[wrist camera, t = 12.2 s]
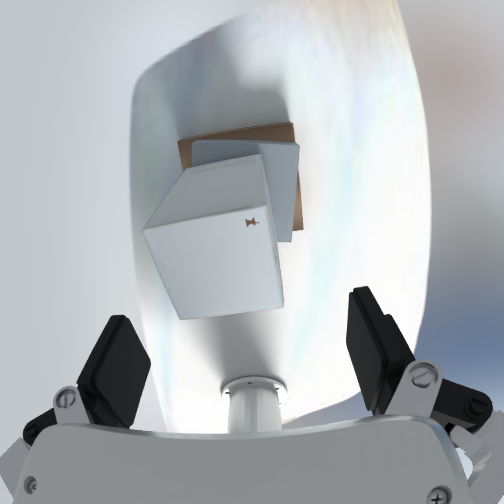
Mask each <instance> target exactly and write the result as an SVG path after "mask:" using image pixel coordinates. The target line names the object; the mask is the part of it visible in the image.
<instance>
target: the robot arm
mask: <svg viewBox="0 0 504 504" xmlns="http://www.w3.org/2000/svg"><path fill="white" fill-rule="evenodd" d="M346 345H347V349H348V352H349V355H350V358H351V361H352V364H353V367H354V370H355V373H356V376H357V379H358V382H359V386H360V389H361V392H362V395H363V398H364V402H365V405H366V408H367V410H368V411H370V410H372V413H373V416H370V417H365V418H359V419H353V420H348V421H343V422H338V423H331V424H325V425H318V426H311V427H305V428H297V429H289V430H282V424H281V411H280V407H281V406H282V405H283V404H284V403H285V402H286V400H287V390H286V388H285V386H284V385H283V384H282V383H280V382H278V381H276V380H274V379H271V378H267V377H258V376H252V377H243V378H239V379H236V380H234V381H231V382H230V383H228V384H227V385H226V386H225V387H224V388H223V390H222V400H223V402H224V403H225V405H226V406H228V407H229V417H228V434H187V433H166V432H152V431H142V430H132V429H129V428H130V426H131V425H132V424H133V423H134V419H135V416H136V412H137V409H138V405H139V402H140V398H141V395H142V392H143V389H144V386H145V382H146V379H147V376H148V373H149V370H150V366H151V361H150V358H149V356H148V355H147V353H146V351H145V349H144V347H143V345H142V343H141V342H140V340H139V337H138V335H137V334H136V332H135V330H134V327H133V325H132V324H131V321H130V320H129V318H126V316H125V315H113V316H111V317H110V319H109V321H108V323H107V324H106V326H105V328H104V330H103V332H102V334H101V335H100V337H99V339H98V341H97V343H96V345H95V346H94V348H93V350H92V352H91V354H90V356H89V358H88V360H87V362H86V364H85V366H84V368H83V370H82V372H81V374H80V376H79V378H78V380H77V382H76V383H77V384H78V387H77V388H76V387H73V386H66V387H64V388H62V389H60V390H59V391H58V392H57V393H56V395H55V397H54V399H53V406H54V407H53V408H52V409H50V410H48V411H47V412H45V413H43V414H42V415H40V416H38V417H36V418H35V419H33V420H32V421H30V422H29V423H27V425H26V426H25V428H24V430H23V439H22V438H21V437H20V438H19V439H18V440H17V441H16V442H15V443H14V444H13V445H12V446H11V447H10V448H9V449H8V450H7V451H6V452H5V453H4V454H3V455H2V456H1V457H0V475H1V477H2V479H3V481H4V482H5V484H6V486H7V488H8V490H9V491H10V493H11V495H12V496H13V498H14V500H13V504H497V503H498V502H499V501H500V499H501V498H502V496H503V495H504V413H503V412H502V411H500V410H498V411H497V412H496V411H495V410H493V405H492V401H491V400H490V398H489V397H488V396H487V395H486V394H484V393H482V392H480V391H477V390H474V389H471V388H468V387H465V386H463V385H460V384H456V383H454V382H451V381H449V380H446V379H443V378H442V371H441V369H440V367H439V366H438V365H437V364H436V363H434V362H432V361H430V360H425V359H421V360H416V359H415V358H414V356H413V354H412V352H411V350H410V348H409V346H408V344H407V342H406V340H405V339H404V337H403V335H402V333H401V331H400V329H399V328H398V326H397V324H396V322H395V321H394V319H393V317H392V316H391V315H390V314H386V315H384V314H383V312H382V310H381V308H380V306H379V305H378V303H377V301H376V299H375V298H374V296H373V294H372V292H371V290H370V289H369V287H368V286H364V287H358V288H354V290H353V292H350V293H349V305H348V322H347V335H346ZM458 447H460V448H461V449H463V450H464V451H465V455H466V456H467V457H469V458H470V459H471V461H472V463H473V472H472V474H471V475H470V477H469V479H468V480H467V479H466V475H465V472H464V469H463V467H462V464H461V461H460V458H459V456H458V453H457V451H456V449H455V448H458ZM430 491H431V492H430Z"/></svg>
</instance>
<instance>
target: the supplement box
mask: <svg viewBox="0 0 504 504" xmlns="http://www.w3.org/2000/svg"><path fill="white" fill-rule="evenodd" d="M142 232H143V235H144V237H145V240H146V242H147V245H148V247H149V250H150V252H151V255H152V257H153V260H154V262H155V265H156V267H157V270H158V272H159V274H160V277H161V279H162V281H163V283H164V286H165V288H166V290H167V292H168V295H169V297H170V299H171V301H172V304H173V306H174V308H175V310H176V312H177V314H178V317H179V319H180V320H187V319H197V318H206V317H214V316H223V315H231V314H238V313H244V312H252V311H261V310H269V309H276V308H282V307H284V296H283V286H282V278H281V270H280V262H279V255H278V248H277V240H276V234H275V227H274V221H273V215H272V208H271V202H270V196H269V190H268V185H267V180H266V175H265V171H264V166H263V162H262V157H261V154H257V155H251V156H245V157H240V158H235V159H229V160H224V161H219V162H215V163H210V164H205V165H200V166H196V167H191V168H187V169H186V170H185V171H184V172H183V174H182V175H181V176H180V178H179V179H178V180H177V182H176V183H175V184H174V186H173V187H172V188H171V190H170V191H169V192H168V194H167V195H166V197H165V198H164V199H163V201H162V202H161V204H160V205H159V206H158V208H157V209H156V211H155V212H154V214H153V215H152V216H151V218H150V219H149V221H148V222H147V224H146V225H145V227H144V228H143V230H142Z"/></svg>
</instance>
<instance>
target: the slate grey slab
mask: <svg viewBox="0 0 504 504" xmlns="http://www.w3.org/2000/svg"><path fill="white" fill-rule="evenodd" d="M299 148H300V146H299V145H298V144H297V143H295V142H285V141H266V140H229V139H211V140H196V141H194V142H193V143H192V167H196V166H200V165H205V164H210V163H215V162H219V161H224V160H229V159H235V158H240V157H245V156H251V155H257V154H261V157H262V162H263V166H264V171H265V175H266V180H267V185H268V190H269V196H270V202H271V208H272V215H273V221H274V227H275V234H276V240H277V242H291V240H292V230H293V220H294V209H295V198H296V186H297V174H298V161H299Z"/></svg>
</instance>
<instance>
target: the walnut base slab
mask: <svg viewBox="0 0 504 504" xmlns="http://www.w3.org/2000/svg"><path fill="white" fill-rule="evenodd" d="M211 139H229V140H266V141H285V142H295V136H294V128H293V123H290V122H289V123H279V124H270V125H262V126H254V127H247V128H240V129H234V130H228V131H222V132H216V133H210V134H205V135H200V136H195V137H190V138H185V139H181V140H179V141H177V142H178V147H179V152H180V157H181V161H182V166H183V171H185V170H186V169H187V168H191V167H192V143H193V142H194V141H196V140H211ZM297 230H303V217H302V205H301V193H300V183H299V173H298V174H297V186H296V198H295V209H294V220H293V230H292V231H297Z"/></svg>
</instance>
